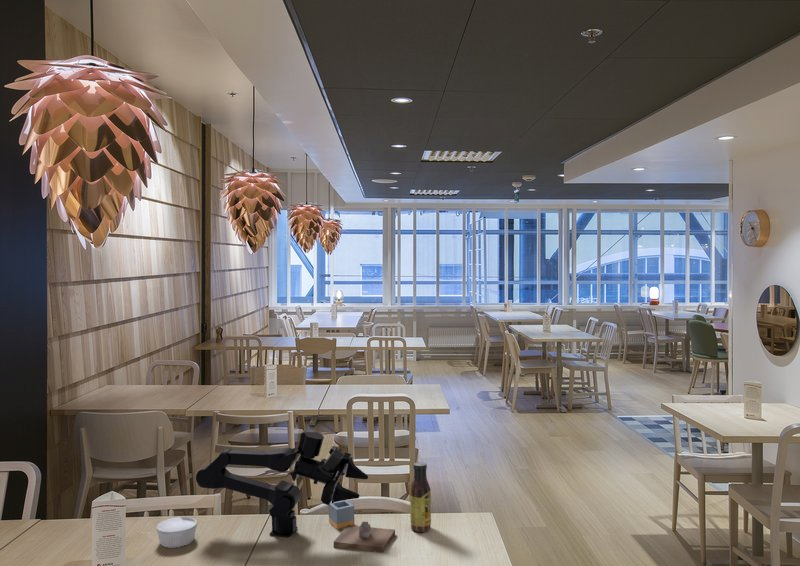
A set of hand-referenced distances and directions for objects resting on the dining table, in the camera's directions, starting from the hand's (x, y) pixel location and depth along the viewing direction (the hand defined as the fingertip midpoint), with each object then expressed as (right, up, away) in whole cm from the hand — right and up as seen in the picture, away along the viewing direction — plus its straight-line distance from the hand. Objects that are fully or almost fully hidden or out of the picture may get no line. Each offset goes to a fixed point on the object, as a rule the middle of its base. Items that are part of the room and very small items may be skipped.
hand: (363, 486), depth 188 cm
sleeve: (-7, -15, +10) cm, 19 cm away
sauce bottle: (+17, -15, +5) cm, 23 cm away
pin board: (+1, -15, -3) cm, 15 cm away
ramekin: (-55, -16, -1) cm, 57 cm away
